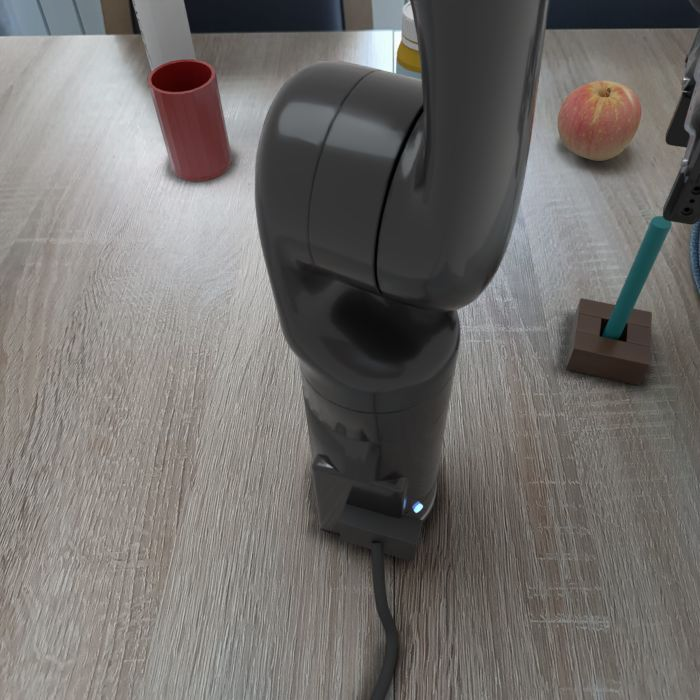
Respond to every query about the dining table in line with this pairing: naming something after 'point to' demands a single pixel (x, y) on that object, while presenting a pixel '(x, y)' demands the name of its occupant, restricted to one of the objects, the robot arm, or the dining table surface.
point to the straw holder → (609, 344)
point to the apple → (599, 120)
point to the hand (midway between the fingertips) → (679, 179)
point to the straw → (637, 276)
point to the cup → (191, 118)
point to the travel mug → (164, 31)
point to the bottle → (408, 46)
